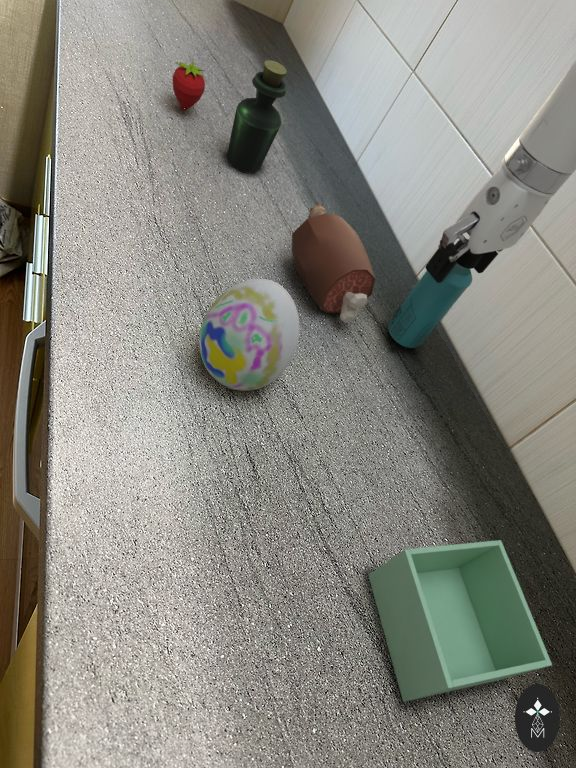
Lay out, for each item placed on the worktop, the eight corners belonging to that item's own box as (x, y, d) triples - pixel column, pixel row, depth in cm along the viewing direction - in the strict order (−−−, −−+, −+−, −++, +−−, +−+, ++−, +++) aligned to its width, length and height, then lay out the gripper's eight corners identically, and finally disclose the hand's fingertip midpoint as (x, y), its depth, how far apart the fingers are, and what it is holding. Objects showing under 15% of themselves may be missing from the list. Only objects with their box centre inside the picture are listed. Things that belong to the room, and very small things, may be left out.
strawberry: (169, 118, 105) (180, 65, 98) (165, 95, 109) (175, 42, 102) (200, 125, 108) (213, 73, 100) (195, 102, 112) (207, 51, 104)
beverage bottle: (420, 359, 92) (497, 269, 77) (383, 349, 90) (455, 256, 75) (415, 329, 96) (488, 238, 81) (379, 319, 94) (447, 224, 79)
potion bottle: (264, 156, 109) (298, 64, 96) (264, 181, 105) (300, 88, 91) (222, 143, 107) (251, 46, 94) (221, 168, 102) (251, 70, 89)
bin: (458, 564, 72) (501, 539, 65) (500, 679, 65) (552, 665, 58) (368, 574, 66) (404, 549, 60) (402, 702, 59) (448, 688, 53)
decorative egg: (171, 353, 75) (198, 272, 63) (235, 318, 82) (269, 239, 71) (235, 419, 72) (275, 346, 61) (295, 376, 80) (340, 304, 69)
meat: (372, 332, 91) (404, 288, 84) (310, 335, 86) (338, 288, 78) (326, 243, 101) (351, 196, 93) (268, 241, 95) (289, 191, 87)
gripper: (514, 192, 62) (429, 300, 75) (594, 183, 72) (506, 280, 85) (472, 148, 65) (396, 259, 78) (553, 145, 74) (474, 245, 87)
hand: (453, 270), depth 81 cm, fingers open, 8 cm apart
